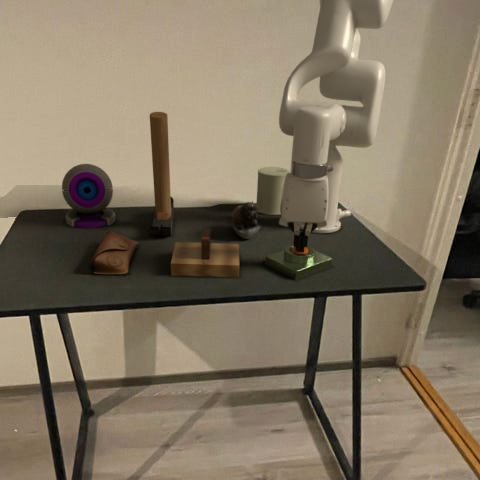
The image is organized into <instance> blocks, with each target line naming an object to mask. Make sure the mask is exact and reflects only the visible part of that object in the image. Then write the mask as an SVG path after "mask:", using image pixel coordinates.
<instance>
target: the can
mask: <svg viewBox="0 0 480 480" xmlns="http://www.w3.org/2000/svg"><path fill="white" fill-rule="evenodd" d="M287 173H290V170H288V169H287V168H284V167H280V166H279V167H277V166H264V167H259V168H258V169H257V187H256V189H257V190H256V203H255V205H256V207H258V209H257V210H258V214H259V213H260V214H263V215H267V216H278V215H279V216H280V215H281V213H280V206H281V198H282V191H283V185H284V181H285V177H286V174H287Z"/></svg>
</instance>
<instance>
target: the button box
mask: <svg viewBox="0 0 480 480" xmlns="http://www.w3.org/2000/svg"><path fill="white" fill-rule="evenodd" d="M292 247H294V246H293V243H292V244H289V245H286V246H285V248H284V249H283V250H281V251H278V252H274V253H271V254H269V255H265V261H264V265H265V266H267V267H269V268H271V269H273V270H275V271H277V272H279V273H281V274H283V275H285V276H287V277H289V278H291V279H293V280H299V279H302V278H304V277H307V276H310V275H312V274H315V273H317V272H320V271H323V270H326V269H328V268H331V267H332V264H333V263H332V262H333V257H330V256H328V255H326V254H325V253H321V252H319V251H317V250H315V248H313V247H311V246H309V245H307V247H306V248H308V250H309V251H308V253H307V254H296V253H293V252H291V248H292Z"/></svg>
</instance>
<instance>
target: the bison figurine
mask: <svg viewBox="0 0 480 480" xmlns="http://www.w3.org/2000/svg"><path fill="white" fill-rule="evenodd" d="M257 209H258V207H256V203H254V201H247V202H245V203H243V205H238V206H236V207H235V208H234V209H233V212H232V230H233V231H234V232H235V233H236V235H238V236H239V237H240V238H242V239H243V240H244V239H245V240H247V239H252V238H253V237H254V236H255V235H256V234H257V233H259V231H260V229H261V226H260V225H259V224H258V220H257V219H259V216H258V214H259V212H258V210H257Z"/></svg>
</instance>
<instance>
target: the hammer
mask: <svg viewBox="0 0 480 480" xmlns="http://www.w3.org/2000/svg"><path fill="white" fill-rule="evenodd" d="M168 118H169V117H168V113H166V112H163V111H153V112H151V113H149V128H150V130H149V131H150V144H151V145H150V146H151V160H152V161H151V162H152V178H153V179H152V180H153V194H154V212H153V218H152V224H151V225H152V226H150V227H149V228H150V231H151V232H150V233H151V236H161V235H162V236H172V235H173V225H174V218H175V217H174V216H175V209H174V208H175V205H174V202H175V200H174V198H173V197H172V196H171V174H170V171H171V170H170V150H169V149H170V147H169V144H170V143H169V125H168V124H169V119H168Z"/></svg>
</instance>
